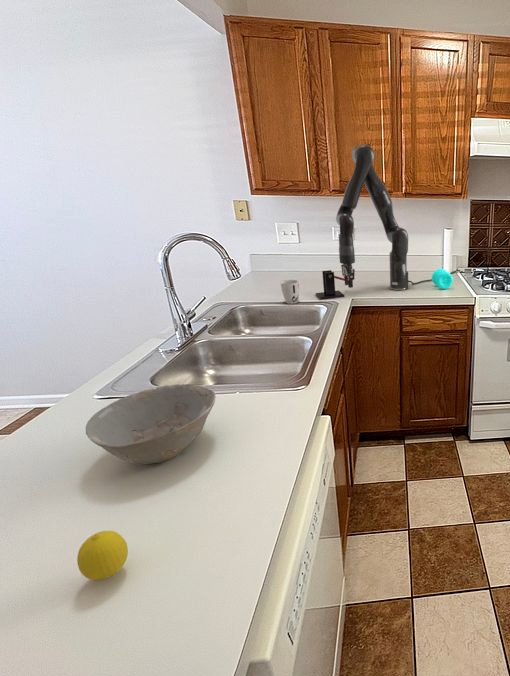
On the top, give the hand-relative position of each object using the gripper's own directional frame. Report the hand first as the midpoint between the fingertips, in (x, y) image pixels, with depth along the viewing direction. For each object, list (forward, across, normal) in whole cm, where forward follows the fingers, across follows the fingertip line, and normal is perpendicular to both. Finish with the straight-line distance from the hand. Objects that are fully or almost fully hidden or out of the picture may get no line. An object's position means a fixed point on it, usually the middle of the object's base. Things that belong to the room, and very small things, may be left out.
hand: (348, 286), depth 205 cm
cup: (+4, -2, +29) cm, 30 cm away
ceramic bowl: (+4, -102, +77) cm, 128 cm away
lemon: (+4, -133, +83) cm, 157 cm away
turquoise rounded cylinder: (+5, -10, -51) cm, 52 cm away
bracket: (+4, 0, +10) cm, 11 cm away
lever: (-4, 0, +6) cm, 7 cm away
